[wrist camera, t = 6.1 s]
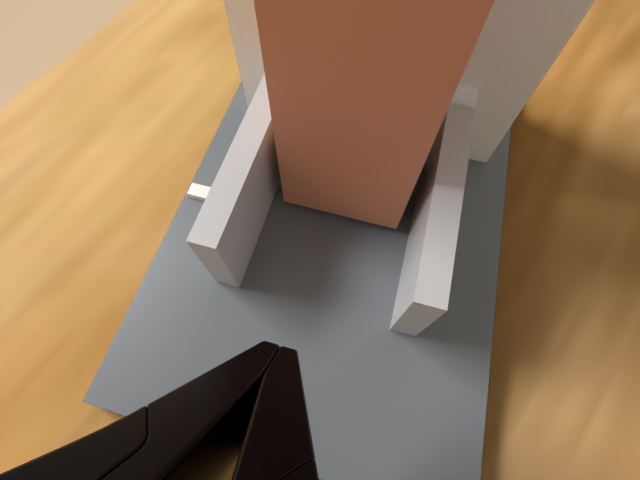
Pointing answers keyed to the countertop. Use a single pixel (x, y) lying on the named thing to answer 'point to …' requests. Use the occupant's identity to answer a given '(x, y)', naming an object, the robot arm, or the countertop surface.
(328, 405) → the test rig
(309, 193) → the plug
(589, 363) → the countertop surface
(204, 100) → the countertop surface
